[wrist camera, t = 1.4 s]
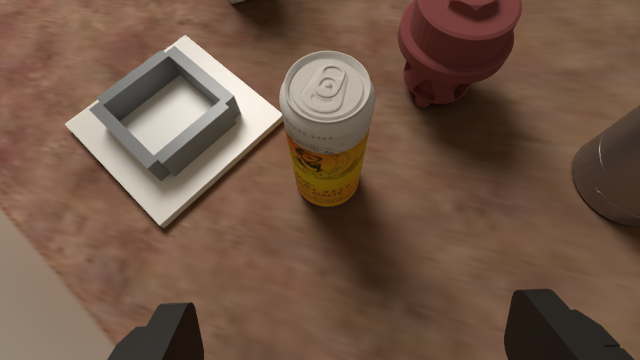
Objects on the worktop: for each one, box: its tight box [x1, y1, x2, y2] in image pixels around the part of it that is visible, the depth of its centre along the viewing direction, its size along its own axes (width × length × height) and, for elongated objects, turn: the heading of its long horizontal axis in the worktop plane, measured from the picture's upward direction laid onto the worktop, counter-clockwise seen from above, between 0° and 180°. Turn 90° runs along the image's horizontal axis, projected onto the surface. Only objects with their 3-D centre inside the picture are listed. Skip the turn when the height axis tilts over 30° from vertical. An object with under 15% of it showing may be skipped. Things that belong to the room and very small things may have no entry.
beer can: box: [279, 51, 375, 207], centre depth 29 cm, size 6×6×15 cm
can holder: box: [65, 35, 283, 228], centre depth 37 cm, size 16×16×4 cm
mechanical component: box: [398, 0, 522, 108], centre depth 34 cm, size 12×10×10 cm
